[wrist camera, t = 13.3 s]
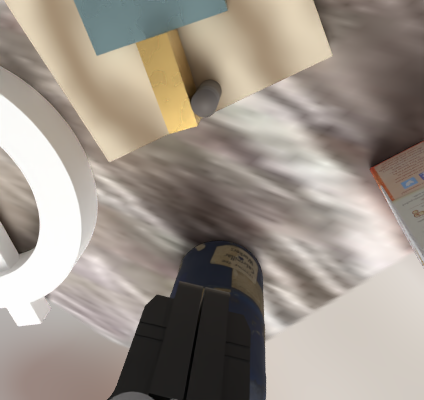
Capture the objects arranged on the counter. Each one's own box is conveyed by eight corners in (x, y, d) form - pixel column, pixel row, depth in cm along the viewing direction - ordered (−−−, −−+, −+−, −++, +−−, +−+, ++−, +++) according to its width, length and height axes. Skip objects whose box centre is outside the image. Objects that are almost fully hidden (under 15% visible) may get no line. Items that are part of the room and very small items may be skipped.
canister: (192, 305, 47) (160, 460, 32) (169, 241, 43) (120, 382, 28) (270, 295, 46) (277, 455, 30) (254, 228, 41) (252, 371, 26)
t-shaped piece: (37, -103, 28) (5, -117, 24) (181, -170, 25) (169, -197, 22) (134, 132, 35) (120, 147, 32) (251, 98, 33) (251, 110, 29)
